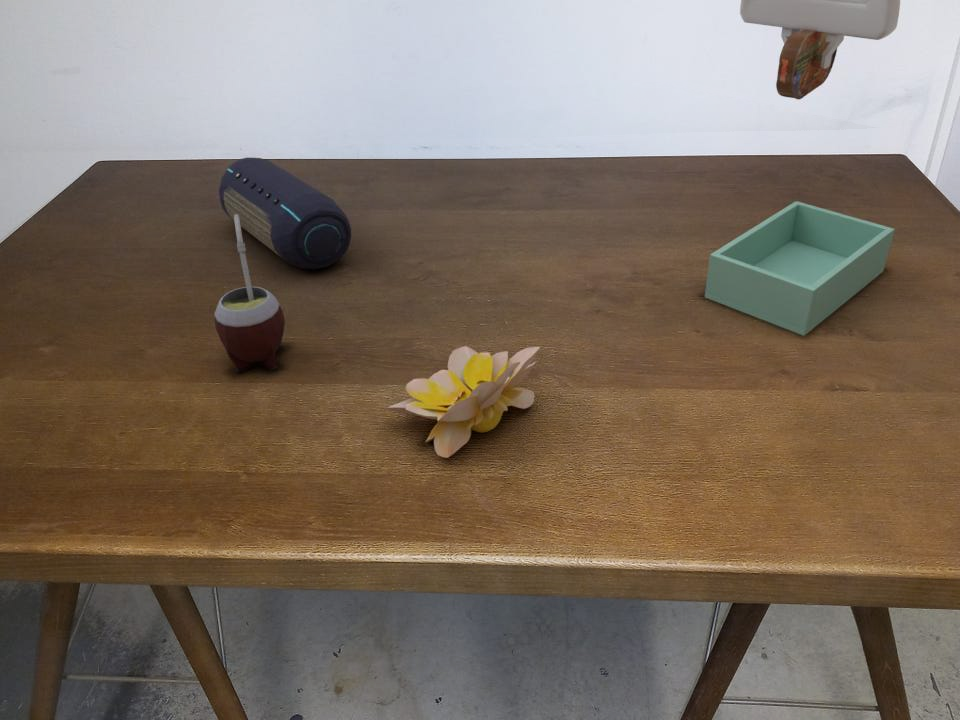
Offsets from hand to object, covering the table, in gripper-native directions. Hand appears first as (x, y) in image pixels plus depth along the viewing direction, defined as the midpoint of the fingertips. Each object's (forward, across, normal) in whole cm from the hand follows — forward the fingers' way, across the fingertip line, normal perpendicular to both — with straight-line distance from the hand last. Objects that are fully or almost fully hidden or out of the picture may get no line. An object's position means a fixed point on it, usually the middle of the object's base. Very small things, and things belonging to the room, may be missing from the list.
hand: (807, 65), depth 110 cm
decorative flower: (+18, -4, +68) cm, 71 cm away
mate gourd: (+18, +20, +77) cm, 82 cm away
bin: (+18, -14, +24) cm, 33 cm away
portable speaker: (+18, +42, +59) cm, 75 cm away
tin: (+4, 0, 0) cm, 4 cm away
